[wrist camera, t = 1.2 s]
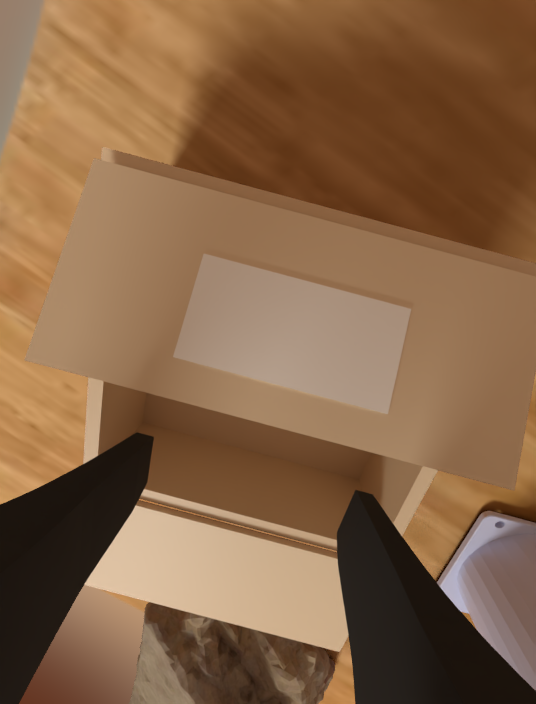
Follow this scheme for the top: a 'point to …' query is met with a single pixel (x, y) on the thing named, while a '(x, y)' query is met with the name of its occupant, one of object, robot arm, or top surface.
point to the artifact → (224, 663)
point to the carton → (247, 484)
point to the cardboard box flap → (293, 323)
